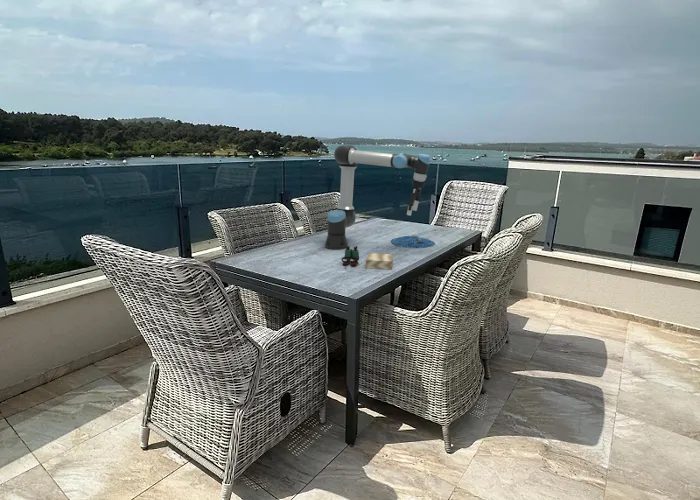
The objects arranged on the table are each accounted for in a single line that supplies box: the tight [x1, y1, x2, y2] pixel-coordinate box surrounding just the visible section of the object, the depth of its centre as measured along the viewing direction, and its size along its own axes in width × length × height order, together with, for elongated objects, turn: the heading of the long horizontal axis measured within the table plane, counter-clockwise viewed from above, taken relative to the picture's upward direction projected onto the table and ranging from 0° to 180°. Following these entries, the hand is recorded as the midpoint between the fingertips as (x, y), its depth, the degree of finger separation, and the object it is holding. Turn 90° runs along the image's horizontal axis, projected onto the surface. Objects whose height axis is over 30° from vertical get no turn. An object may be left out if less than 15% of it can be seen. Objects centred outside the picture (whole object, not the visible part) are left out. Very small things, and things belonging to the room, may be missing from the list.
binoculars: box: [341, 244, 360, 268], centre depth 209 cm, size 9×11×10 cm
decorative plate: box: [390, 234, 435, 249], centre depth 260 cm, size 30×30×5 cm
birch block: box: [365, 252, 394, 270], centre depth 210 cm, size 14×14×5 cm
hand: (411, 212), depth 239 cm, fingers open, 13 cm apart
